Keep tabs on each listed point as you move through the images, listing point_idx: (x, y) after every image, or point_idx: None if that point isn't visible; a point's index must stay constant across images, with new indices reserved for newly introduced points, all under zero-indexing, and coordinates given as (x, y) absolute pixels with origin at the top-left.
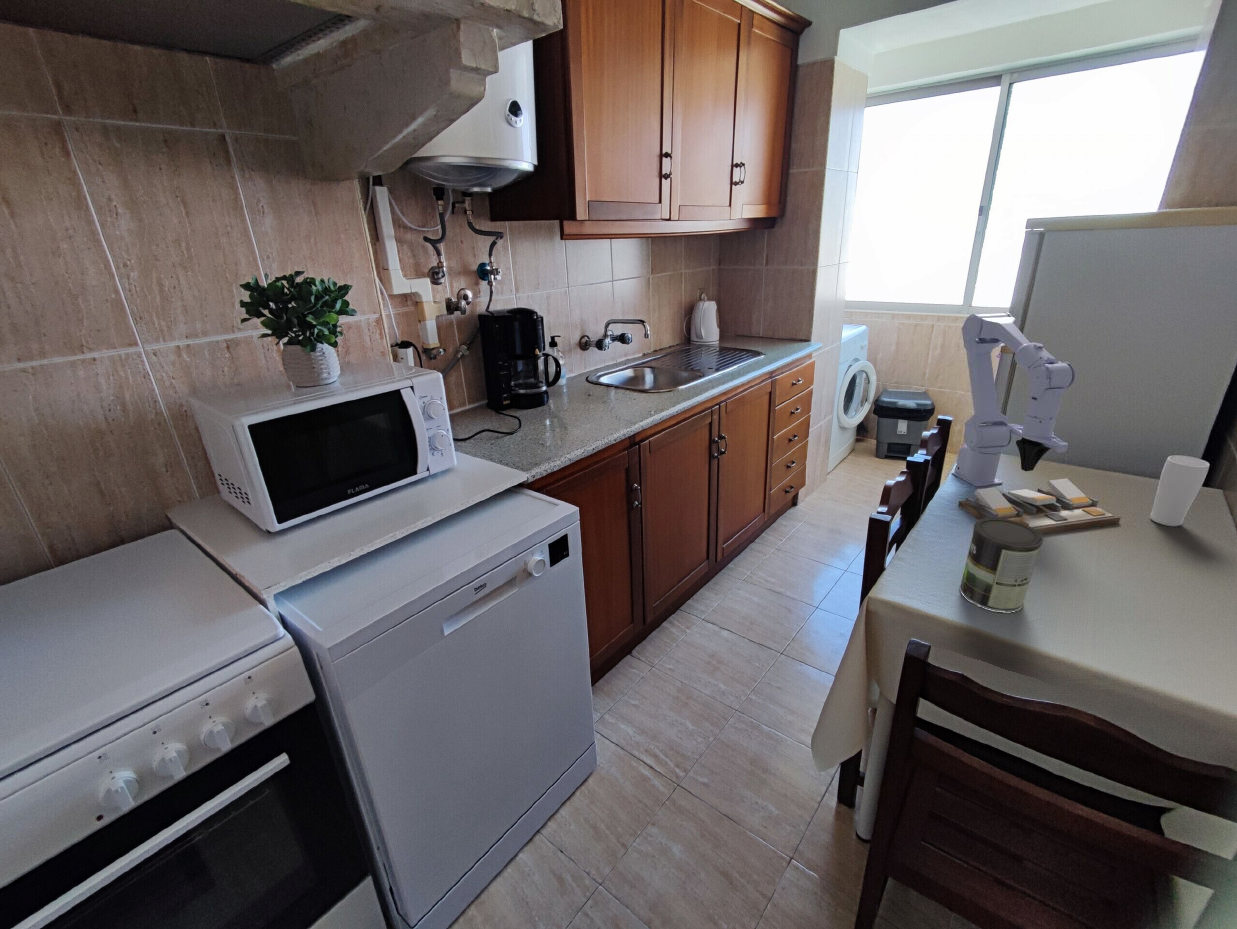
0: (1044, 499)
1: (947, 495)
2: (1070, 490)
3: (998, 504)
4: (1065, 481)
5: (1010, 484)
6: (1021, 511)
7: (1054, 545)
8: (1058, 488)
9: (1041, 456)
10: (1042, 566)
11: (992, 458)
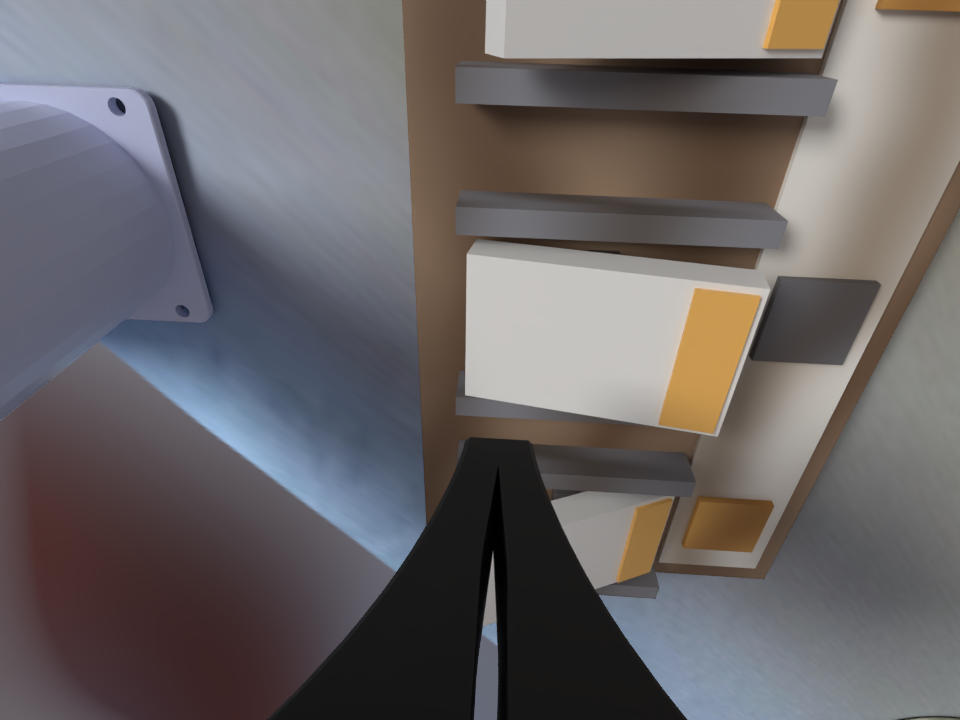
0: (735, 386)
1: (313, 499)
2: None
3: (600, 558)
4: None
5: (160, 25)
6: (690, 488)
7: (907, 463)
8: (630, 42)
9: (599, 611)
10: (947, 597)
11: (14, 349)
